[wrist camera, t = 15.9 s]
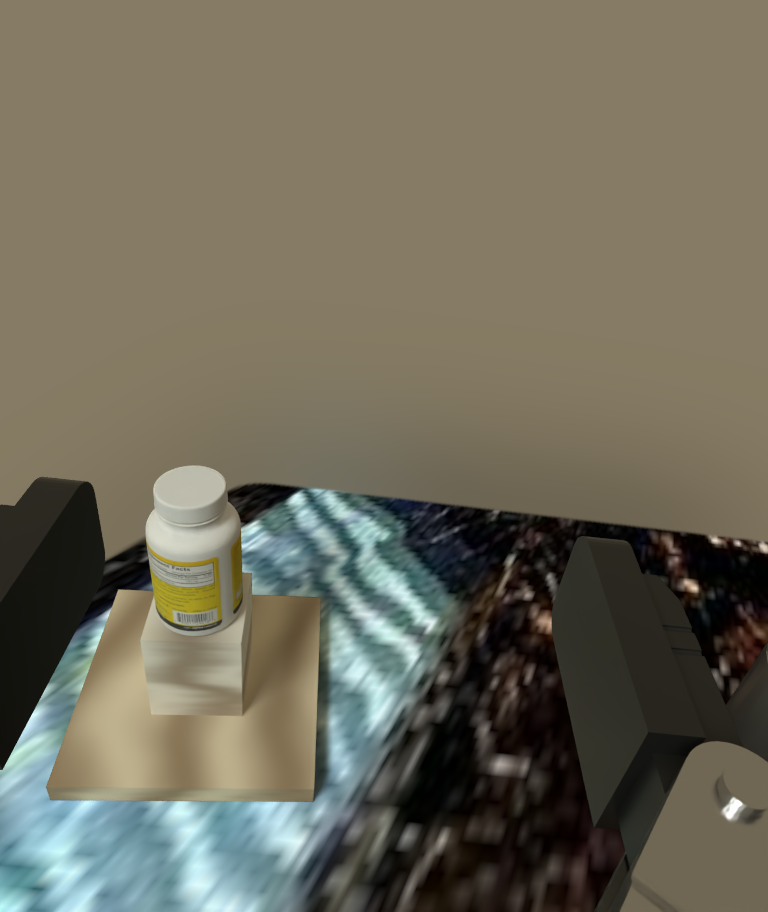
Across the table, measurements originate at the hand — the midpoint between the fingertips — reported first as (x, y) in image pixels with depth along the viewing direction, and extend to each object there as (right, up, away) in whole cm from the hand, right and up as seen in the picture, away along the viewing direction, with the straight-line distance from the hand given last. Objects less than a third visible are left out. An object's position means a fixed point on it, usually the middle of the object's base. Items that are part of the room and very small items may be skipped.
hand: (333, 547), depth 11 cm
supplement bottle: (-11, -8, +32) cm, 35 cm away
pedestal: (-12, -15, +37) cm, 42 cm away
